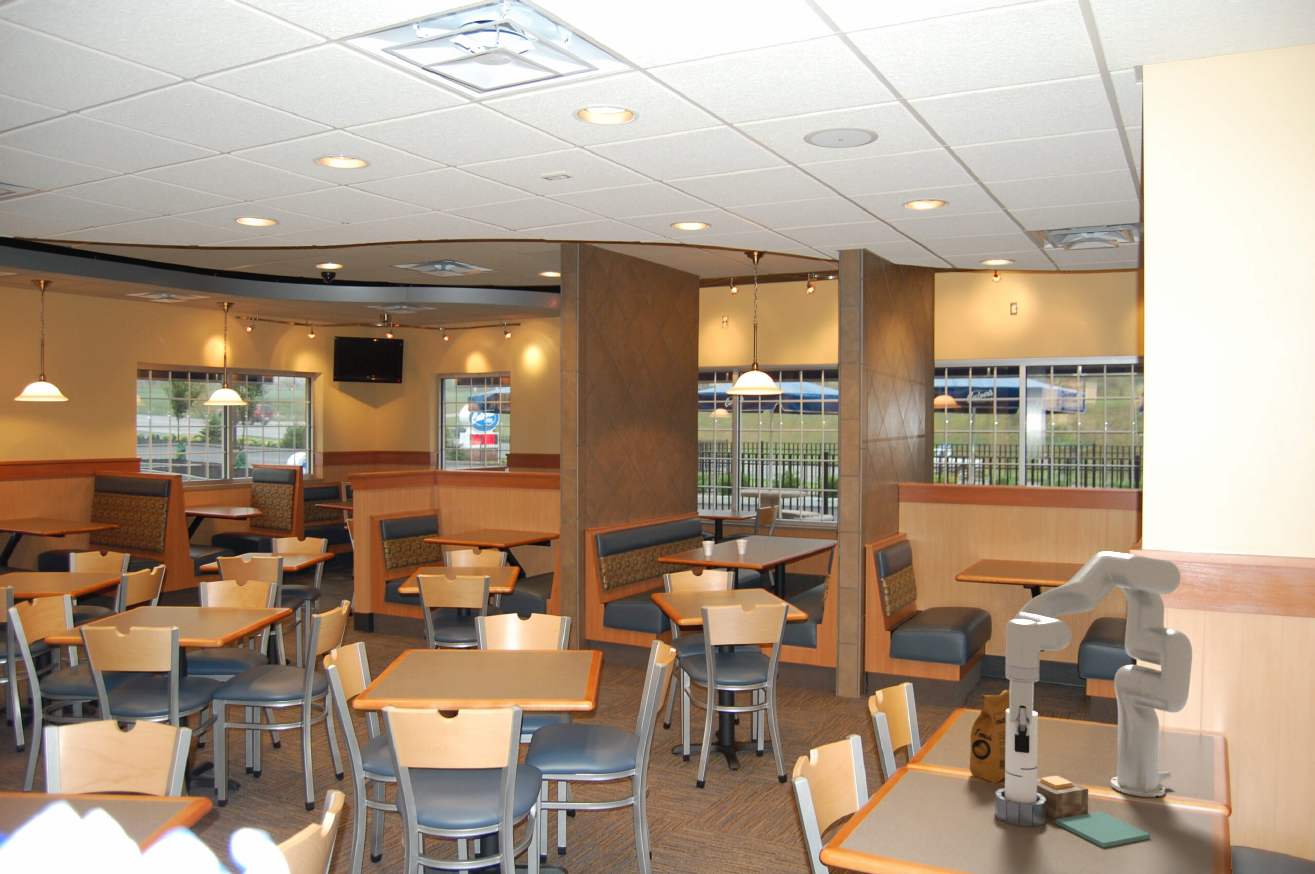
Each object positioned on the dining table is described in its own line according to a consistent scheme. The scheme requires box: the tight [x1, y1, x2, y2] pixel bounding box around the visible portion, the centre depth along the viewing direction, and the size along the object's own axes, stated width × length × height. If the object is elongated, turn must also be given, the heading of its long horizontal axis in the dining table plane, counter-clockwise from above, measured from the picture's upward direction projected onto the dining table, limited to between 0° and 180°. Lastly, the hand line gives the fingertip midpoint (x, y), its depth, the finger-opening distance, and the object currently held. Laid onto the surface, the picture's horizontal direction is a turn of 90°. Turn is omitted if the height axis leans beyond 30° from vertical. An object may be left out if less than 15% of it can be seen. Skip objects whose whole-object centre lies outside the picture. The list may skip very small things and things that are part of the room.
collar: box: [994, 787, 1047, 828], centre depth 232 cm, size 11×11×5 cm
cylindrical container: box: [1004, 708, 1039, 803], centre depth 232 cm, size 7×7×25 cm
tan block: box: [1040, 775, 1073, 790], centre depth 237 cm, size 5×5×6 cm
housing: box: [1037, 774, 1089, 820], centre depth 237 cm, size 10×10×6 cm
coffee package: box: [969, 689, 1009, 784], centre depth 260 cm, size 10×12×22 cm
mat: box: [1055, 811, 1151, 848], centre depth 224 cm, size 14×14×1 cm
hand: (1021, 746), depth 232 cm, fingers closed on cylindrical container, 7 cm apart
